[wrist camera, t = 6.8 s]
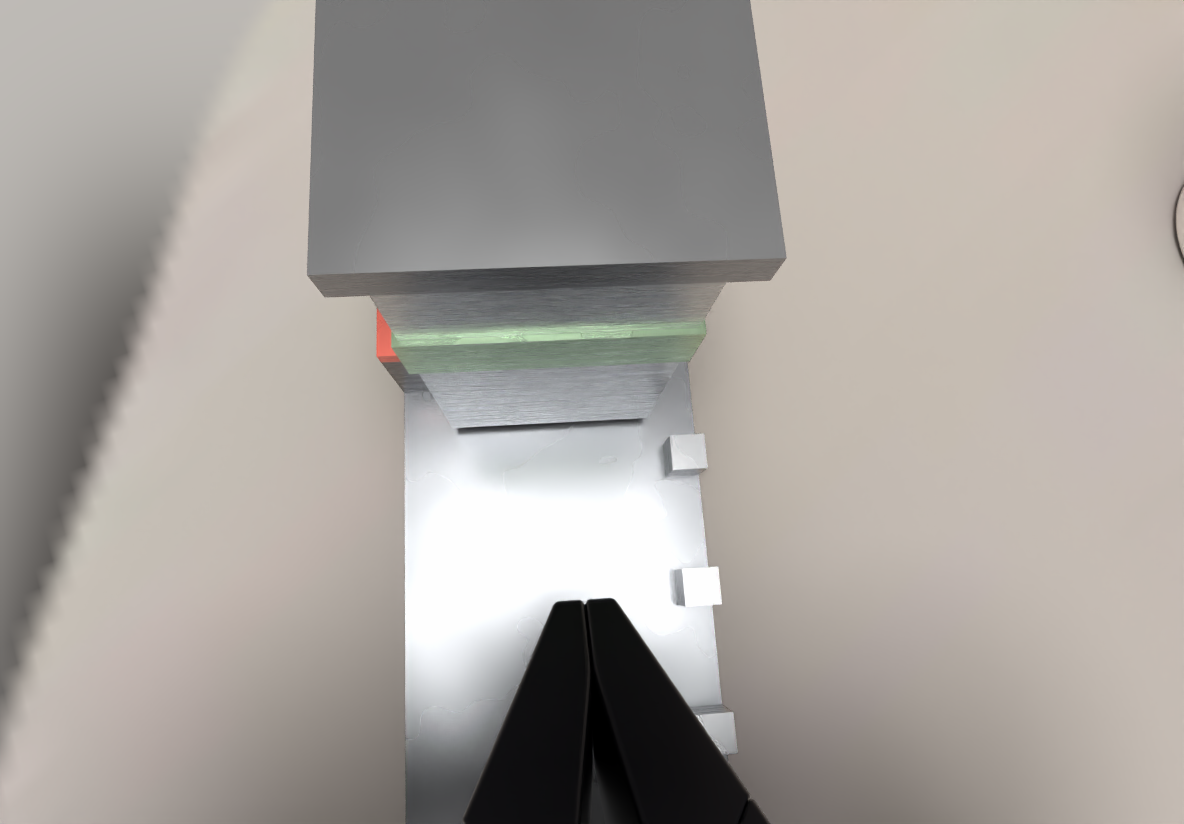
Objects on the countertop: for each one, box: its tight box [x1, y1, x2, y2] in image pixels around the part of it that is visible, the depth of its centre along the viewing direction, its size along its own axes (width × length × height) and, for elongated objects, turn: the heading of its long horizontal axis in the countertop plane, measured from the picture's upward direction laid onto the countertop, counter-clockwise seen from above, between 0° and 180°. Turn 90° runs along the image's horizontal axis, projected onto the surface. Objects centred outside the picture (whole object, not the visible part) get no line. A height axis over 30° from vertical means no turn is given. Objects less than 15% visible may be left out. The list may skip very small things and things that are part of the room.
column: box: [307, 0, 786, 428], centre depth 13 cm, size 5×5×9 cm
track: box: [377, 308, 738, 824], centre depth 15 cm, size 24×7×4 cm, turn 4°
